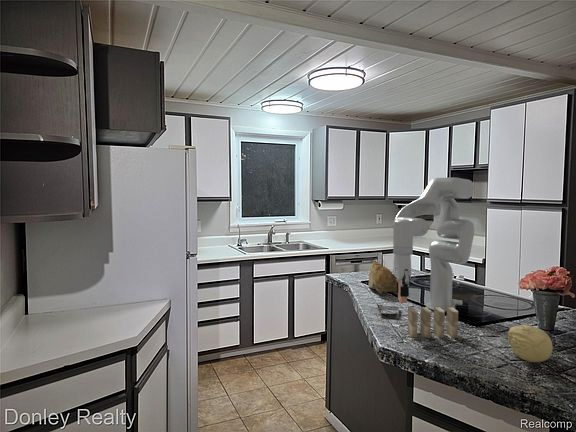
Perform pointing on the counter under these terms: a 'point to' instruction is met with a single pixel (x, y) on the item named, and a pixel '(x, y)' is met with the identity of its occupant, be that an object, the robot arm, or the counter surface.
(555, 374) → the counter surface
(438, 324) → the domino
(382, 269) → the rough brown rock
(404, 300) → the domino
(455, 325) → the domino
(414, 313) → the domino
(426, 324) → the domino
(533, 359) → the yellow oval melon
